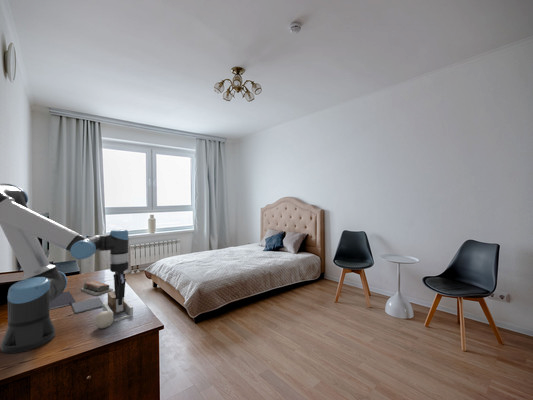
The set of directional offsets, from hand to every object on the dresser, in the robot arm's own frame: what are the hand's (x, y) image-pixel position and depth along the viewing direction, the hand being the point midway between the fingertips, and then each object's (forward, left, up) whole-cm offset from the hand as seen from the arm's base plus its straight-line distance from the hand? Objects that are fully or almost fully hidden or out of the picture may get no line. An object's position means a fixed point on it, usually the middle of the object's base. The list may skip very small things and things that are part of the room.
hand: (119, 310), depth 118 cm
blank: (0, +8, -2) cm, 8 cm away
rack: (0, +3, -2) cm, 4 cm away
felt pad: (-9, +23, -2) cm, 25 cm away
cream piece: (-8, -8, -2) cm, 11 cm away
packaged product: (-1, +46, -3) cm, 46 cm away
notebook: (-20, +41, -3) cm, 46 cm away
